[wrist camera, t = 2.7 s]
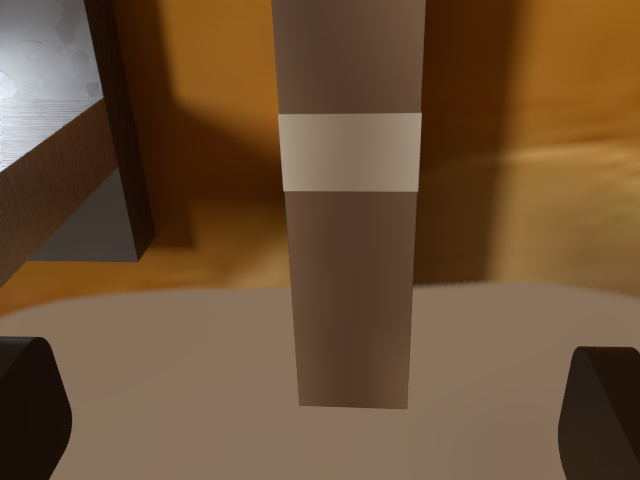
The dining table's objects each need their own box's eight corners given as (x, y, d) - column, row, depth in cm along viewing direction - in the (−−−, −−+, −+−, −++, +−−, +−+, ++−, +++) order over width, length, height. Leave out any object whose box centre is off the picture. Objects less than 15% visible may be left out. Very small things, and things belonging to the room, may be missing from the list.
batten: (427, -254, 16) (440, -295, 13) (404, 340, 26) (407, 409, 23) (277, -245, 17) (250, -282, 13) (309, 338, 26) (298, 406, 23)
